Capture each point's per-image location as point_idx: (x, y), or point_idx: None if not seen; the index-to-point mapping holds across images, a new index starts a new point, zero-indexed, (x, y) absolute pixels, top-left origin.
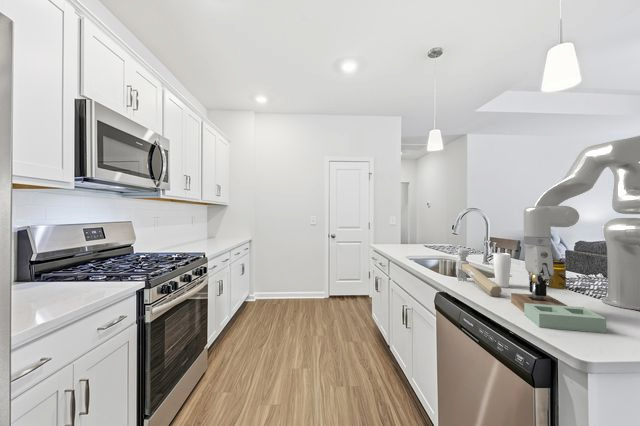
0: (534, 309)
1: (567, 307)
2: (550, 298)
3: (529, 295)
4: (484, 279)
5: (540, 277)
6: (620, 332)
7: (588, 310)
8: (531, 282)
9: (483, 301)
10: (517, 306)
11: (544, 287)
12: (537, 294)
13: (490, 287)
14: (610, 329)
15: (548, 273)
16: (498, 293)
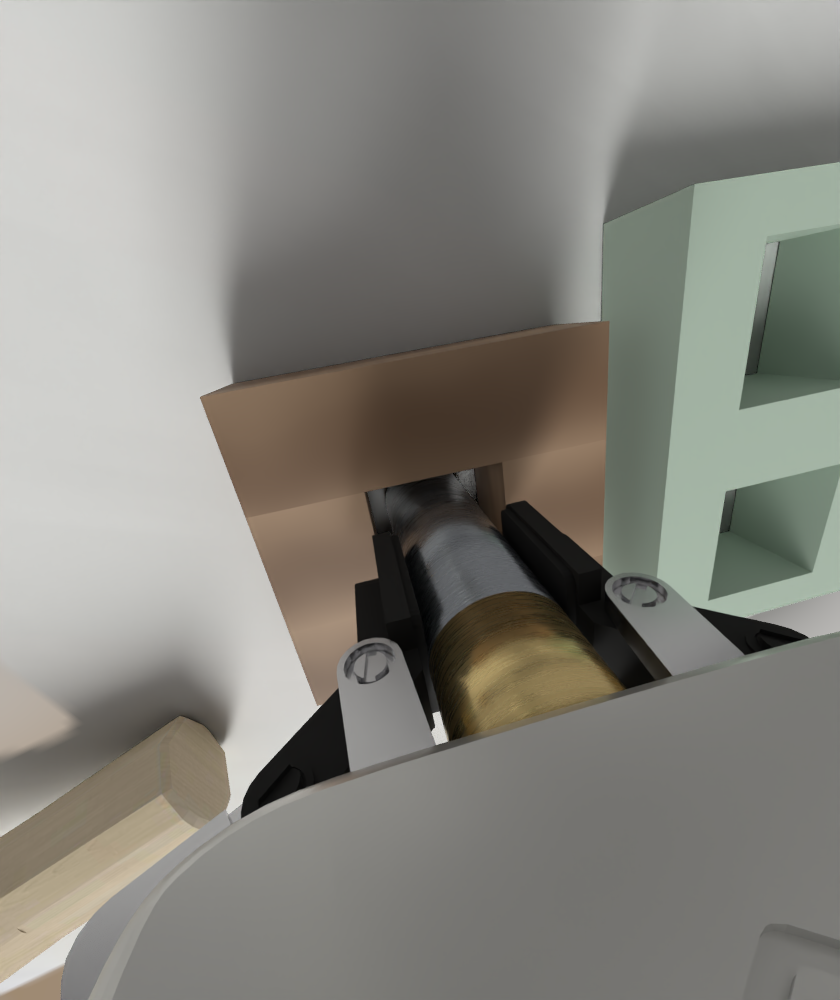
0: (782, 601)
1: (720, 366)
2: (363, 415)
3: (330, 585)
4: (28, 945)
5: None
6: (835, 43)
7: (797, 186)
8: (435, 702)
9: None
10: None
11: (607, 572)
12: None
13: None
14: (781, 96)
15: (835, 712)
16: (188, 739)
